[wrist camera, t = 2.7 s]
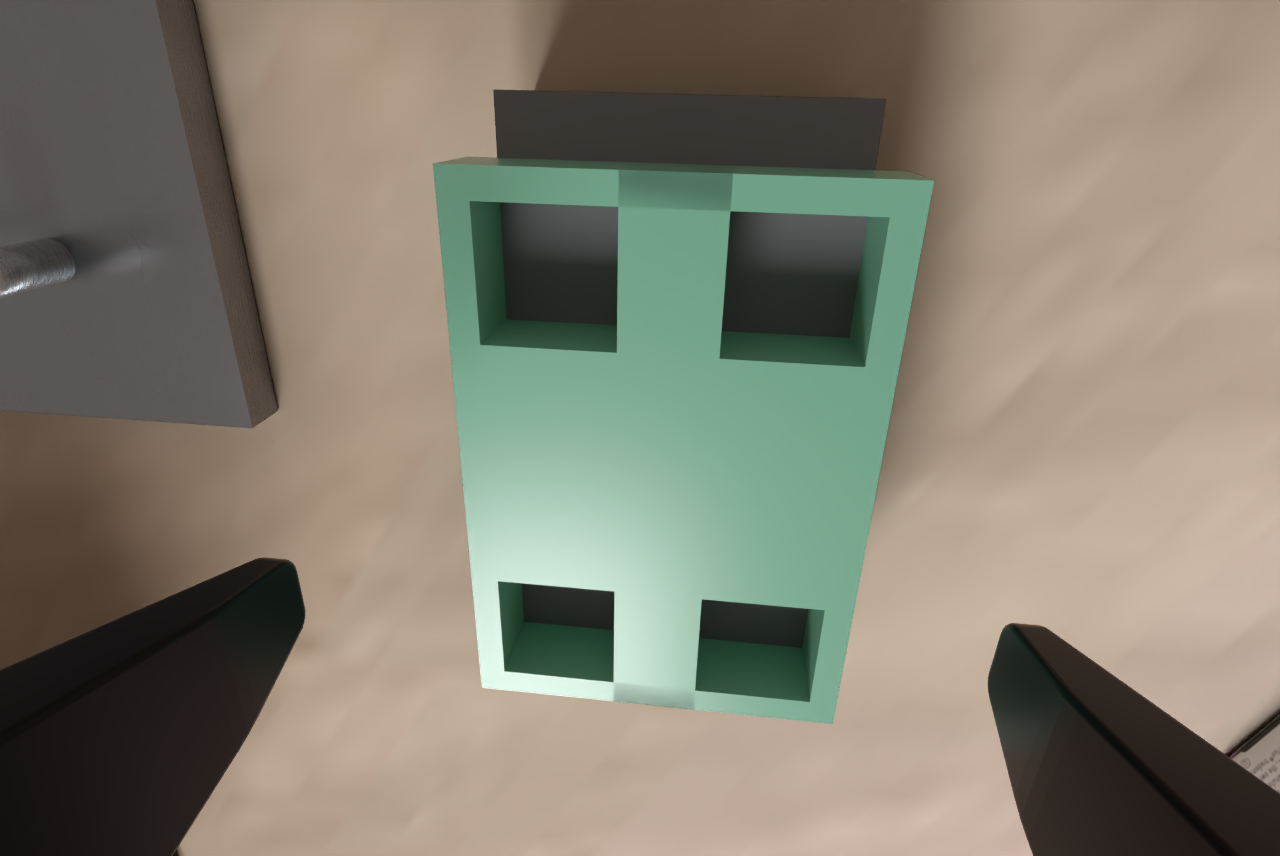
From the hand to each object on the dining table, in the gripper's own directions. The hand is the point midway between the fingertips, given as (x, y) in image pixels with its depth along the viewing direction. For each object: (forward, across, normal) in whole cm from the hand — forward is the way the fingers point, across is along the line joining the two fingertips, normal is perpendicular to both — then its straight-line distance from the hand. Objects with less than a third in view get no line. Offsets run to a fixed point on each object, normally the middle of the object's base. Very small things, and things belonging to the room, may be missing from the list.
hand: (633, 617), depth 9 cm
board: (+5, 0, 0) cm, 5 cm away
